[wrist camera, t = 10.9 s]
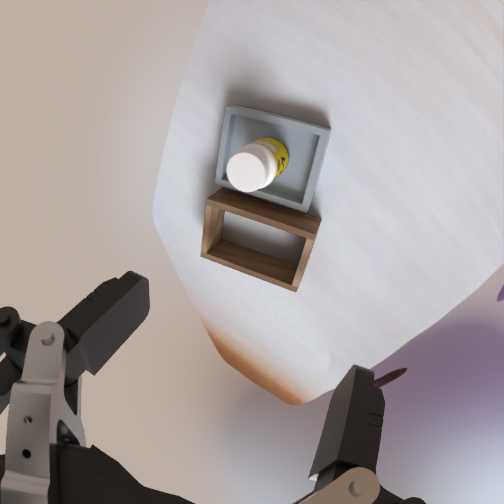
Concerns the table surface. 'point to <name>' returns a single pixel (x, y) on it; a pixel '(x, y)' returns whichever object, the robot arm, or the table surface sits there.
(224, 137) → the tray
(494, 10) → the table surface
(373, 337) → the table surface
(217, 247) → the caddy
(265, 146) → the supplement bottle
